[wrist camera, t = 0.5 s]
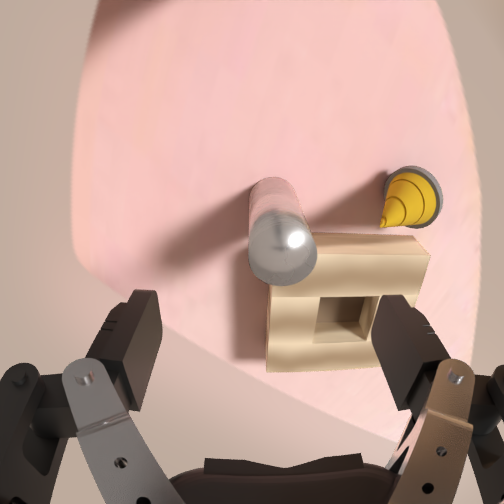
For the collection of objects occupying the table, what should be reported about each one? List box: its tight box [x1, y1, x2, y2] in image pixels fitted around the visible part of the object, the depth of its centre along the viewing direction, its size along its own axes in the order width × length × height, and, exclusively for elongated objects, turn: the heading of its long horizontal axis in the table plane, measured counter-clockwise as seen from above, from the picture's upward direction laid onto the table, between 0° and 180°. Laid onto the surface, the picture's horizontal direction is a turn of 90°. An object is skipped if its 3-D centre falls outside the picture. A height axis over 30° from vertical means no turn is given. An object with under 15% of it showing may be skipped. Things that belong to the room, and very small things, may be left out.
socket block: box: [265, 233, 431, 372], centre depth 31 cm, size 14×14×4 cm
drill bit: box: [380, 166, 443, 229], centre depth 24 cm, size 5×5×10 cm
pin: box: [248, 177, 317, 286], centre depth 23 cm, size 4×4×10 cm
